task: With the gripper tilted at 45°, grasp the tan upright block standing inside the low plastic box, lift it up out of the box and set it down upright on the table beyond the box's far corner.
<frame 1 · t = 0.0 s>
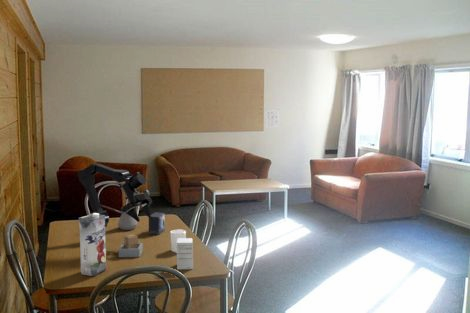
hand: (144, 219, 257), 15 cm above the table, tool tilted 35°, fingers open, 9 cm apart
supplement box: (184, 267, 231), on the table
open box: (131, 253, 249), on the table
tan upright block: (130, 245, 249), in the open box
small box: (156, 232, 288), on the table
juice carton: (93, 272, 223), on the table
white cup: (178, 250, 255), on the table
coffee pot: (119, 229, 294), on the table
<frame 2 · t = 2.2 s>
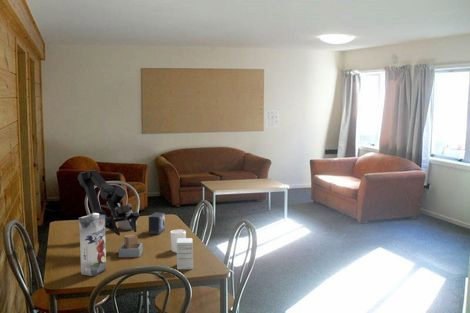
hand: (127, 233, 250), 10 cm above the table, tool tilted 45°, fingers open, 9 cm apart
nothing on the table moved.
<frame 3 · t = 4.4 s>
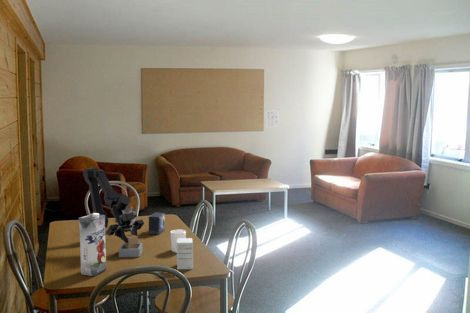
hand: (132, 241, 247), 7 cm above the table, tool tilted 45°, fingers closed on tan upright block, 5 cm apart
tan upright block: (130, 245, 249), in the open box, touching gripper
everything else where it was.
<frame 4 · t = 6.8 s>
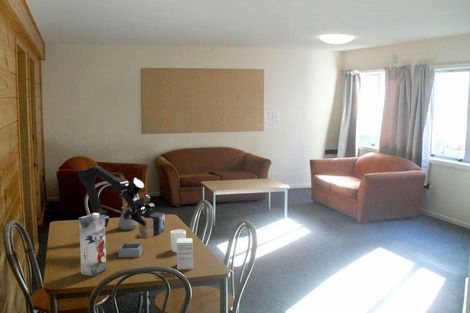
hand: (148, 224, 254), 13 cm above the table, tool tilted 45°, fingers closed on tan upright block, 5 cm apart
tan upright block: (146, 227, 255), point 11 cm above the table, touching gripper
everything else where it was.
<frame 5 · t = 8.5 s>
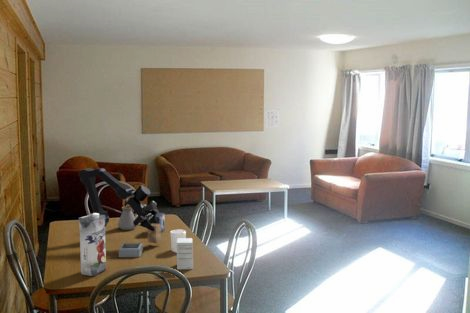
hand: (156, 229, 261), 9 cm above the table, tool tilted 45°, fingers closed on tan upright block, 5 cm apart
tan upright block: (154, 233, 262), point 7 cm above the table, touching gripper
everything else where it was.
when the fingers open (7 cm above the table, at t = 9.7 s): tan upright block stays where it is, on the table.
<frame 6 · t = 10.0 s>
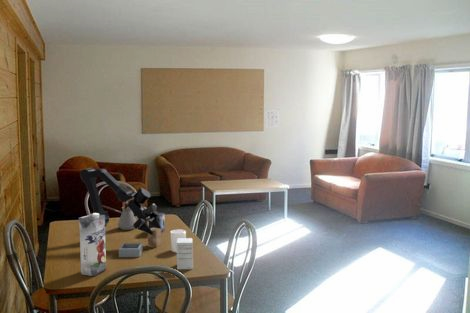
hand: (156, 232, 261), 8 cm above the table, tool tilted 45°, fingers open, 9 cm apart
tan upright block: (154, 237, 262), on the table
everything else where it was.
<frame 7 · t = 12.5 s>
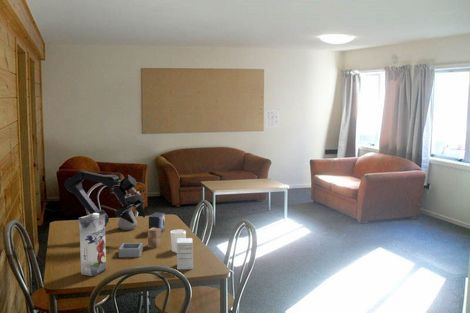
hand: (139, 220, 264), 13 cm above the table, tool tilted 40°, fingers open, 9 cm apart
nothing on the table moved.
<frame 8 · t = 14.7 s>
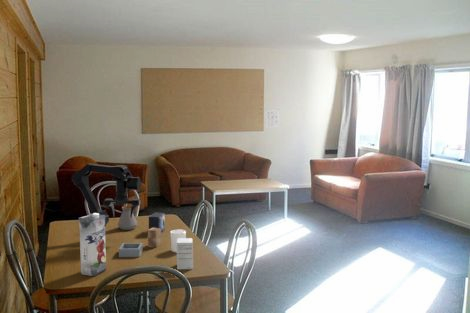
hand: (122, 217, 268), 13 cm above the table, tool pointing down, fingers open, 9 cm apart
nothing on the table moved.
at the end: tan upright block inside the target area (0.0 cm from its centre), on the table; tan upright block tilted 0°; the gripper is holding nothing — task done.
